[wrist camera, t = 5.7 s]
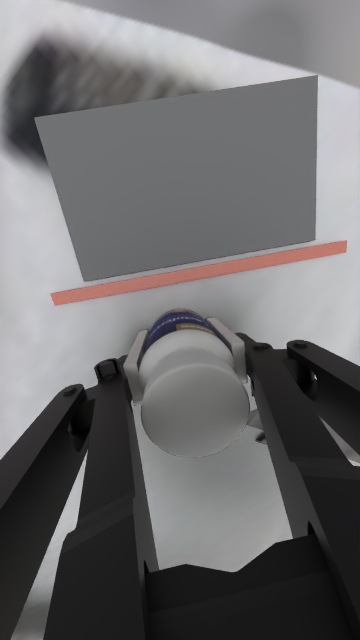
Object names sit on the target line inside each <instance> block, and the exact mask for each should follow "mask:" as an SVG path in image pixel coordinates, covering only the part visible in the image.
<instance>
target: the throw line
mask: <svg viewBox="0 0 360 640" xmlns="http://www.w3.org/2000/svg"><path fill="white" fill-rule="evenodd" d="M346 248H347V241H341V242H335V243H330V244H324V245H319V246H313V247H308V248H302V249H297V250H291V251H286V252H280V253H274V254H269V255H263V256H258V257H252V258H247V259H241V260H236V261H230V262H225V263H219V264H213V265H208V266H202V267H197V268H191V269H186V270H180V271H175V272H169V273H164V274H158V275H152V276H147V277H141V278H136V279H130V280H125V281H119V282H114V283H108V284H102V285H97V286H91V287H86V288H80V289H75V290H69V291H64V292H58V293H53V294H51V297H52V300H53V302H54V305H60V304H66V303H71V302H77V301H82V300H88V299H93V298H99V297H104V296H110V295H115V294H121V293H126V292H131V291H137V290H142V289H148V288H153V287H159V286H164V285H170V284H175V283H181V282H186V281H192V280H197V279H203V278H208V277H214V276H219V275H225V274H230V273H236V272H241V271H247V270H252V269H258V268H263V267H269V266H274V265H279V264H285V263H290V262H296V261H301V260H307V259H312V258H318V257H323V256H329V255H334V254H340V253H345V252H346Z"/></svg>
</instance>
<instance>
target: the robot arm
mask: <svg viewBox="0 0 360 640" xmlns="http://www.w3.org/2000/svg"><path fill="white" fill-rule="evenodd" d="M207 324H208V325H209V326H210V327H211V328H212V330H213V331H214V332H215V333H216V334H217V335H218V337H219V338H220V339H221V340H222V341H223V342H224V344H225V345H226V346H227V348H228V349H229V350H230V352H231V354H232V356H233V358H234V361H235V365H236V372H237V376H238V378H239V379H240V381H241V382H242V384H244V383H248V378H247V375H248V376H249V377H250V379H251V391H252V396H254V398H255V401H256V405H257V409H258V412H259V416H260V420H261V423H262V427H263V430H264V434H265V438H266V441H267V445H268V448H269V452H270V456H271V459H272V463H273V466H274V470H275V474H276V477H277V481H278V484H279V488H280V492H281V495H282V499H283V502H284V506H285V510H286V513H287V517H288V520H289V524H290V528H291V532H292V537H293V539H290V540H286V541H282V542H277V543H274V544H273V545H272V546H271V547H269V548H268V549H267V550H265V551H264V552H263V553H261V554H260V555H259V556H257V557H256V558H255V559H253V560H252V561H251V562H250V563H248V564H247V565H246V566H244V567H243V568H242V569H240V570H239V571H237V572H226V571H221V570H215V569H210V568H205V567H199V566H194V565H188V564H184V565H180V566H176V567H171V568H167V569H163V570H159V567H158V561H157V556H156V550H155V544H154V538H153V531H152V525H151V519H150V513H149V507H148V501H147V495H146V489H145V483H144V476H143V470H142V464H141V458H140V452H139V446H138V440H137V434H136V428H135V422H134V415H133V410H132V406H131V401H132V399H133V403H134V406H136V405H141V404H142V400H143V395H142V393H141V390H140V385H139V369H140V364H141V361H142V357H143V354H144V351H145V348H146V344H147V341H148V338H149V334H148V330H143V331H139V333H138V335H137V337H136V339H135V342H134V344H133V346H132V348H131V350H130V352H129V354H128V355H124V356H121V357H120V358H119V359H115V358H112V359H107V360H104V361H102V362H100V363H98V364H97V365H96V366H95V367H94V369H95V372H96V375H97V378H98V385H96V386H94V387H91V388H89V389H86V390H85V389H84V387H83V385H82V384H75V385H70V386H69V387H66V388H65V389H63V390H62V391H60V392H59V393H58V394H57V395H56V396H55V397H54V399H53V400H52V401H51V402H50V403H49V404H48V406H47V407H46V408H45V409H44V410H43V411H42V413H41V414H40V415H39V416H38V417H37V418H36V419H35V421H34V422H33V423H32V424H31V425H30V426H29V428H28V429H27V430H26V431H25V432H24V433H23V435H22V436H21V437H20V438H19V439H18V440H17V442H16V443H15V444H14V445H13V446H12V447H11V449H10V450H9V451H8V452H7V453H6V454H5V455H4V457H3V458H2V459H1V460H0V640H10V639H11V637H12V634H13V632H14V629H15V627H16V624H17V622H18V619H19V617H20V615H21V612H22V610H23V607H24V605H25V602H26V600H27V597H28V595H29V592H30V590H31V588H32V585H33V583H34V580H35V578H36V575H37V573H38V570H39V568H40V565H41V563H42V561H43V558H44V556H45V553H46V551H47V548H48V546H49V543H50V541H51V538H52V536H53V534H54V531H55V529H56V526H57V524H58V521H59V519H60V516H61V514H62V511H63V509H64V507H65V504H66V502H67V499H68V497H69V494H70V492H71V489H72V487H73V484H74V482H75V480H76V477H77V475H78V472H79V470H80V467H81V465H82V462H83V460H84V457H85V455H86V453H87V450H88V454H87V460H86V467H85V474H84V481H83V487H82V494H81V501H80V508H79V514H78V521H77V525H76V528H75V530H73V531H72V532H70V533H68V534H67V536H66V538H65V540H64V541H63V545H62V549H61V553H60V557H59V562H58V567H57V572H56V577H55V582H54V588H53V593H52V598H51V603H50V608H49V613H48V618H47V624H46V629H45V634H44V639H43V640H360V466H353V465H352V464H351V463H350V462H349V460H348V459H347V458H346V456H345V455H344V453H343V452H342V450H341V449H340V447H339V446H338V444H337V443H336V441H335V440H334V438H333V437H332V435H331V434H330V432H329V431H328V429H327V428H326V426H325V425H324V423H323V422H322V420H321V419H323V420H324V421H325V422H326V423H327V424H328V425H329V426H330V427H331V428H332V429H333V430H334V431H335V432H336V433H337V434H338V435H339V436H340V437H341V438H342V439H343V440H344V441H345V442H346V443H347V444H348V445H349V446H350V447H351V448H352V449H353V450H354V451H355V452H356V453H357V454H358V455H360V366H358V365H356V364H354V363H352V362H350V361H348V360H346V359H344V358H342V357H340V356H338V355H336V354H334V353H332V352H330V351H328V350H326V349H324V348H321V347H319V346H317V345H315V344H313V343H311V342H308V341H304V340H294V341H290V342H288V343H287V349H273V348H272V346H271V345H270V344H267V343H257V342H255V341H254V340H253V339H251V338H250V337H248V336H247V335H246V334H243V333H233V332H232V331H231V330H229V329H228V328H227V327H226V326H225V325H224V324H222V323H221V322H220V321H219V320H218V319H216V318H215V317H212V318H207ZM315 375H316V378H317V380H316V379H315V378H314V377H315ZM320 418H321V419H320Z"/></svg>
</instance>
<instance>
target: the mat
mask: <svg viewBox="0 0 360 640" xmlns="http://www.w3.org/2000/svg"><path fill="white" fill-rule="evenodd" d="M317 92H318V75H316V76H309V77H302V78H296V79H289V80H282V81H276V82H269V83H262V84H256V85H249V86H242V87H236V88H229V89H222V90H215V91H209V92H202V93H195V94H189V95H182V96H175V97H169V98H162V99H155V100H149V101H142V102H135V103H129V104H122V105H115V106H109V107H102V108H95V109H88V110H82V111H75V112H68V113H62V114H55V115H48V116H42V117H35V118H34V119H35V122H36V125H37V129H38V132H39V135H40V139H41V142H42V145H43V148H44V152H45V155H46V158H47V162H48V165H49V168H50V172H51V175H52V178H53V181H54V185H55V188H56V191H57V195H58V198H59V201H60V204H61V208H62V211H63V214H64V218H65V221H66V224H67V227H68V231H69V234H70V237H71V241H72V244H73V247H74V250H75V254H76V257H77V260H78V264H79V267H80V270H81V274H82V277H83V280H84V281H91V280H97V279H102V278H108V277H113V276H119V275H124V274H130V273H136V272H141V271H147V270H152V269H158V268H163V267H169V266H175V265H180V264H186V263H191V262H197V261H203V260H208V259H214V258H219V257H225V256H230V255H236V254H242V253H247V252H253V251H258V250H264V249H269V248H275V247H281V246H286V245H292V244H297V243H303V242H309V241H313V240H315V225H316V159H317Z"/></svg>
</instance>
